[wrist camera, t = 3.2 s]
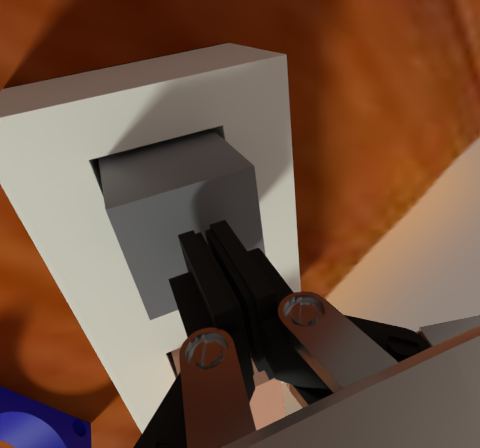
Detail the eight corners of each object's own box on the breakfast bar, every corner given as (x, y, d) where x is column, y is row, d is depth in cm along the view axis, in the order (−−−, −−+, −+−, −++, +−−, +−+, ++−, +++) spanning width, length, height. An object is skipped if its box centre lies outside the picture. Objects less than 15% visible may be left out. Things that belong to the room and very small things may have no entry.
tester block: (2, 89, 18) (-34, 125, 12) (229, 42, 20) (286, 54, 15) (135, 363, 30) (148, 445, 24) (266, 310, 32) (305, 372, 27)
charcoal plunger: (96, 146, 16) (105, 209, 11) (201, 119, 17) (254, 165, 12) (130, 235, 19) (150, 320, 14) (218, 207, 20) (268, 275, 15)
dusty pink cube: (163, 324, 23) (189, 417, 18) (236, 296, 24) (280, 375, 19) (181, 371, 26) (208, 463, 20) (246, 344, 27) (286, 425, 21)
